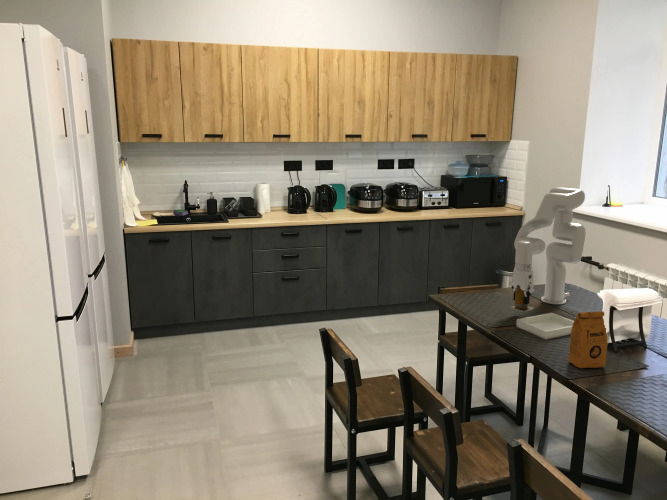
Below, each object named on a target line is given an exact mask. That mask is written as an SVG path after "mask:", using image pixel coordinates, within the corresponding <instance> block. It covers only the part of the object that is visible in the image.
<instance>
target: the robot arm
mask: <svg viewBox="0 0 667 500" xmlns="http://www.w3.org/2000/svg"><path fill="white" fill-rule="evenodd" d="M585 198H586V194H585V192H584V190H582V189H580V188H570V187H569V188H568V187H553V188H550V190H549V193H545V195H543V198H542V200H541V202H540V205H539V207H538V210H537V211H536V213H535V216H534V217H533V218H532V219H530V220H528V221H527V222H526V223H524V225H522V226H521V227H520V229H519V230H518V232H517V235H516V237H515V240H514V243H513V244H514V249H515V257H514V258H515V260H514V262H515V263H514V268H513V270H512V271H513V272H512V277H511V278H512V279H511V281H510V282H509V285H510V287H511V289H512V293H513V297H512V300H513V301H514V302H515V290H516V287H517V285H519V286H520V288H521V290H523V291H524V295H525V296H524V301H523V304H524V305H525V304H528V305H529V304H530V298H531V296H532V295H533V294H534V293H535V292H536V290H535V289H534V285H535V284H534V272H533V270H532V269H533V266H532V264H533V256H534V255H540V254H542V253H543V252H544V251H545V254H546V273H545V285H544V294H543V296H541V297H540V300H541V302H543V303H546V304H551V305H564V304H566V303H567V299H566V297H570V296H571V294H570V293H571V292H565V288H566V287H565V285H566V284H565V283H566V275H567V269H566V265H565V264H564V263H568V264H579V263H580V262H581V260H582V257H583V252H584V246H585V240H586V228H585V226H584V225H583V224H580V223H576V222H573V216H574V212H573V211H574V210H575V209H577V208H579V207H581V206H582V205H583V203H584V202H585V200H586V199H585ZM552 224H553V226H552V234H551V235H552V237H553V238H554V239H556V240H559V242H558V241H557V242H556V241H555V242H552V241H551V242H549V243H548V244H547V246H546V241H544V240H543V239H541V238H535V237H530V236H529V235H530V234H531V233H532V232H535V231H537V230H540V229H545V228H548V227H550V226H551V225H552ZM560 241H564V242H560ZM565 242H571V243H565ZM545 249H546V250H545ZM526 291H528V293H527V292H526Z"/></svg>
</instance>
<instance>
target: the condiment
mask: <svg viewBox="0 0 667 500" xmlns="http://www.w3.org/2000/svg"><path fill="white" fill-rule="evenodd" d="M526 292H527V293H528V291H526ZM524 296H525V295H524V291H523V290H521V288H520V286H519V285H517V287H516V290H515V301H514V305H513V306H511V307H510V308H511V309H515V310H518V311H522V312H529V311H532V310H533V309H534V310H535V308H534V307H531V306H528V305H529V304H525V305H524V304H523V301H524Z"/></svg>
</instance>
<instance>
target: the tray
mask: <svg viewBox="0 0 667 500" xmlns="http://www.w3.org/2000/svg"><path fill="white" fill-rule="evenodd" d="M573 323H574V320H573V319H569V318H567V317H565V316H562V315H560V314H557V313H554V312H548V313H541V314H537V315H531V316H527V317H526V316H525V317H521V318H517V319H516V325H515V326H516V328H519V329H522V330H524V331H526V332H528V333H530V334H532V335H534V336H537V337H539V338H542V339H543V340H549V339H554V338H558V337H559V338H560V337H563V336H568V335H571V330H572V326H573Z"/></svg>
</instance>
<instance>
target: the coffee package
mask: <svg viewBox="0 0 667 500" xmlns="http://www.w3.org/2000/svg"><path fill="white" fill-rule="evenodd" d="M575 317H576V319H575V320H573V321H574V323H573V326H572V330H571V334H570V339H569V340H570V341H569V349H568V350H569V351H568V352H569V353H568V362H569V363H570V364H572V365H573V366H574V367H577V368H579V369H589V368H590V369H596V368H597V369H598V368H604V367H605V366H606V364H607V363H606V362H607V351H608V344H609V342H608V341H609V340H608V335H607V334H608V333H606V328H605V325H604V320H605V319H604V317H605V311H584V312H578V313H577V315H576V316H575Z"/></svg>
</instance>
